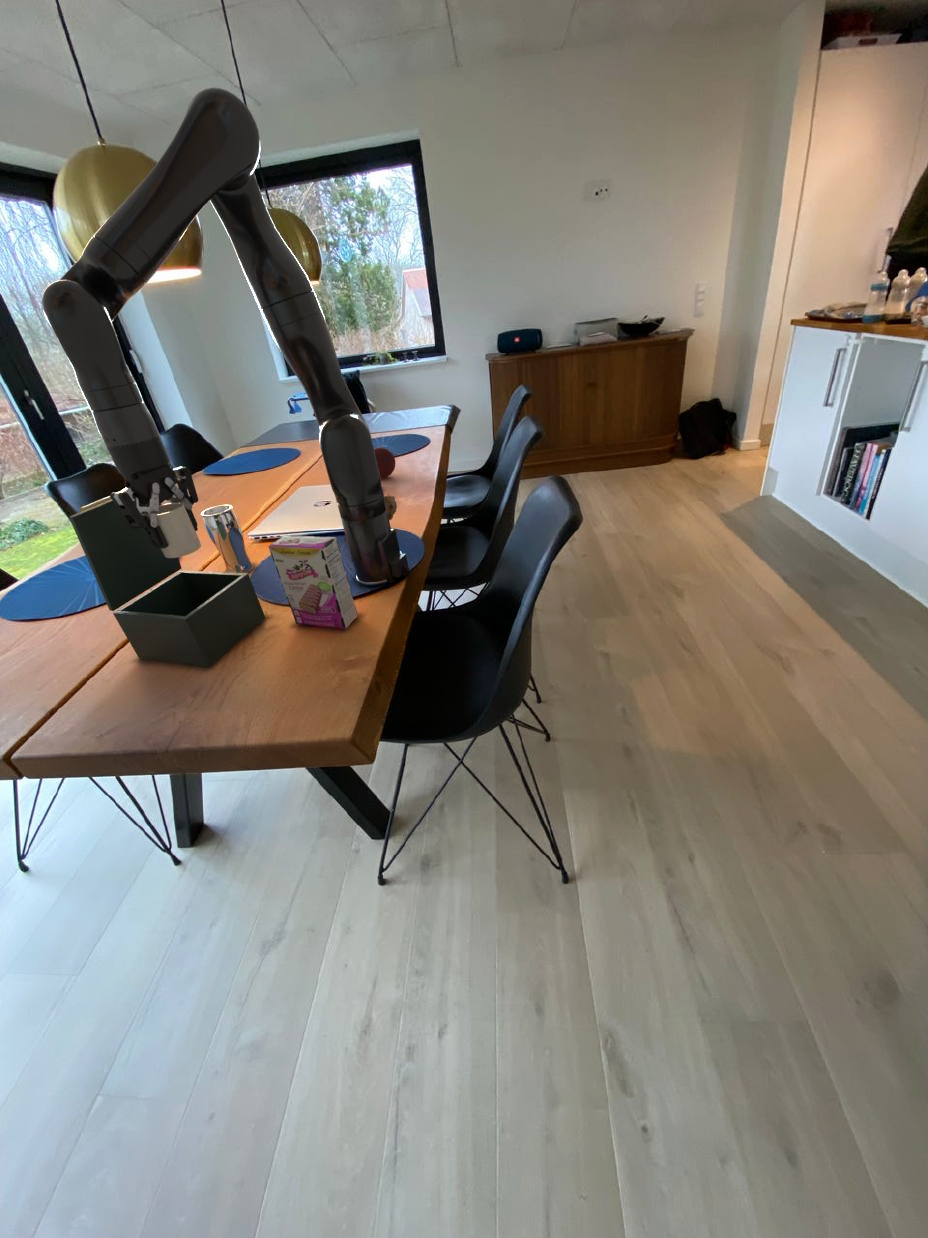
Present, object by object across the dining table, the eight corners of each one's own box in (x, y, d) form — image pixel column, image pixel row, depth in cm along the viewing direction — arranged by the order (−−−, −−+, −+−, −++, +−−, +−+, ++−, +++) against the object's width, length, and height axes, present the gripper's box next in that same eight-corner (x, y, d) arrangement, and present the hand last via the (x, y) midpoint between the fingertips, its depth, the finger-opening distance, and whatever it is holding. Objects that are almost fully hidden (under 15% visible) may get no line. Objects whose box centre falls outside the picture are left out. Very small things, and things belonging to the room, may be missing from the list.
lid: (154, 482, 89) (129, 478, 91) (72, 517, 77) (44, 511, 78) (181, 568, 99) (158, 563, 101) (113, 611, 87) (87, 604, 88)
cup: (208, 543, 89) (191, 502, 85) (183, 558, 85) (163, 515, 81) (182, 542, 91) (164, 502, 87) (156, 557, 87) (135, 515, 83)
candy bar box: (295, 626, 96) (265, 546, 87) (309, 612, 99) (283, 534, 91) (346, 631, 92) (321, 547, 83) (359, 616, 96) (337, 535, 87)
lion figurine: (398, 524, 134) (392, 490, 129) (403, 530, 129) (396, 496, 125) (343, 538, 130) (334, 504, 126) (346, 545, 126) (337, 510, 121)
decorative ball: (364, 483, 170) (357, 452, 164) (374, 473, 178) (367, 444, 173) (393, 480, 168) (387, 450, 162) (401, 471, 176) (395, 441, 171)
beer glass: (260, 562, 124) (238, 503, 116) (247, 576, 118) (223, 514, 110) (234, 564, 125) (210, 505, 117) (220, 578, 119) (193, 517, 111)
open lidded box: (266, 618, 100) (248, 573, 94) (209, 668, 87) (185, 619, 82) (201, 613, 105) (181, 570, 100) (139, 659, 93) (112, 613, 87)
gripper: (109, 449, 71) (161, 558, 80) (185, 425, 82) (224, 522, 91) (72, 451, 74) (126, 557, 82) (151, 427, 85) (192, 522, 94)
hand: (177, 538), depth 87 cm, fingers closed on cup, 6 cm apart
